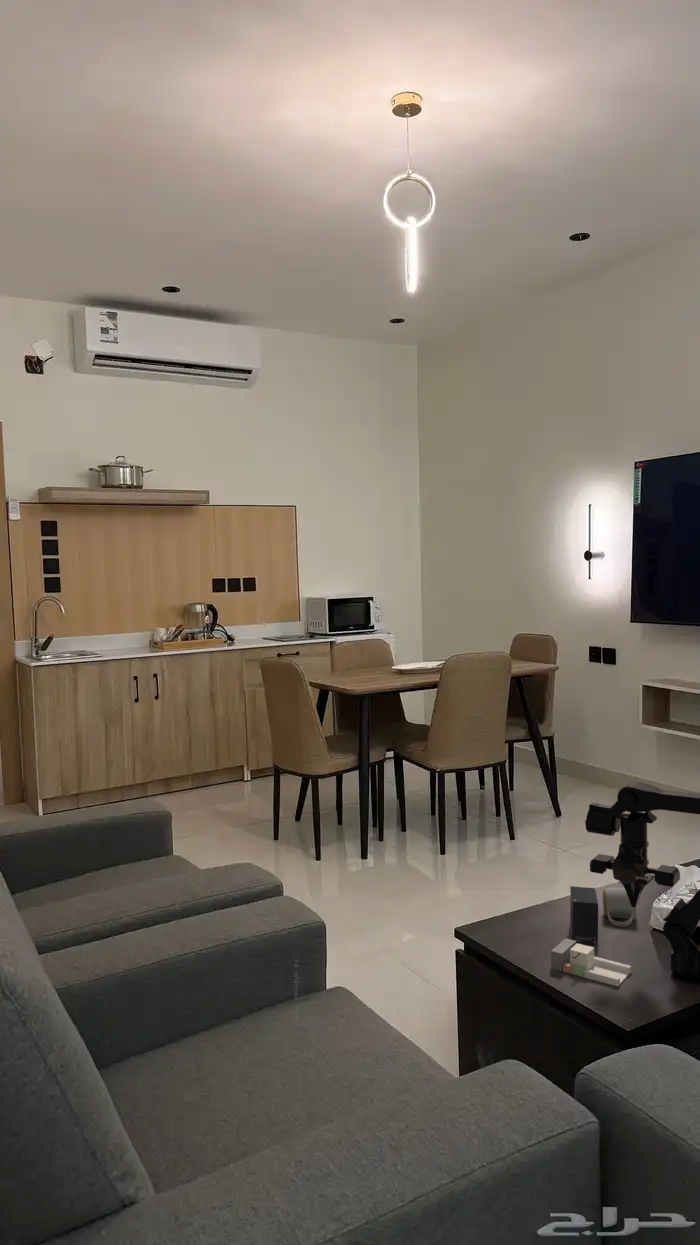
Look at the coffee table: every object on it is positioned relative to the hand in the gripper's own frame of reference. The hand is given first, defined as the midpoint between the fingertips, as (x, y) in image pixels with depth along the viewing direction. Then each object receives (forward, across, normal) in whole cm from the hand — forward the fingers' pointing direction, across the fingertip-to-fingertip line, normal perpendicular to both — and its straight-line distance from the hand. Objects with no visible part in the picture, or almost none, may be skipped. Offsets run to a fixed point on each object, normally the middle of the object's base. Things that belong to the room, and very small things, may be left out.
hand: (634, 906), depth 197 cm
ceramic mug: (+13, -11, +23) cm, 28 cm away
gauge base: (+13, -7, -9) cm, 17 cm away
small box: (+13, -15, +8) cm, 21 cm away
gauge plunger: (+12, -9, -10) cm, 18 cm away
